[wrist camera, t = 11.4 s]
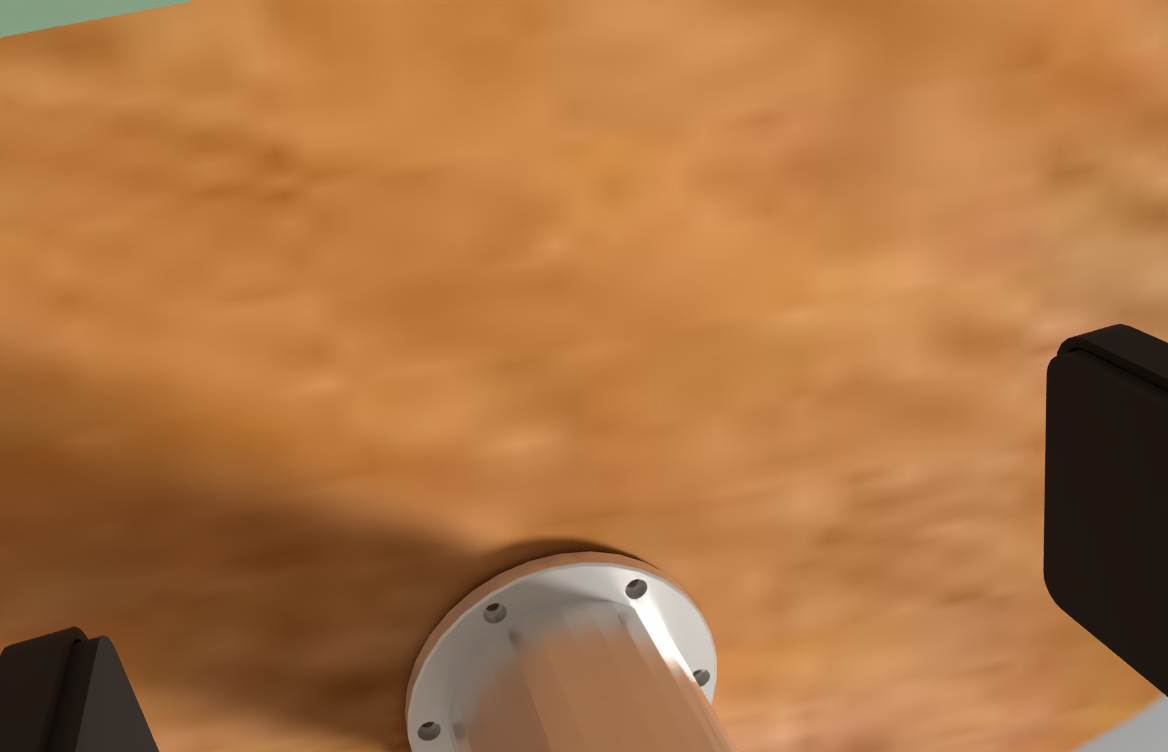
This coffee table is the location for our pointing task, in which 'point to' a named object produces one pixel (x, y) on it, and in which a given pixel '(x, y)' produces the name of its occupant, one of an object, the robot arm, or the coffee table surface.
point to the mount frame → (65, 12)
